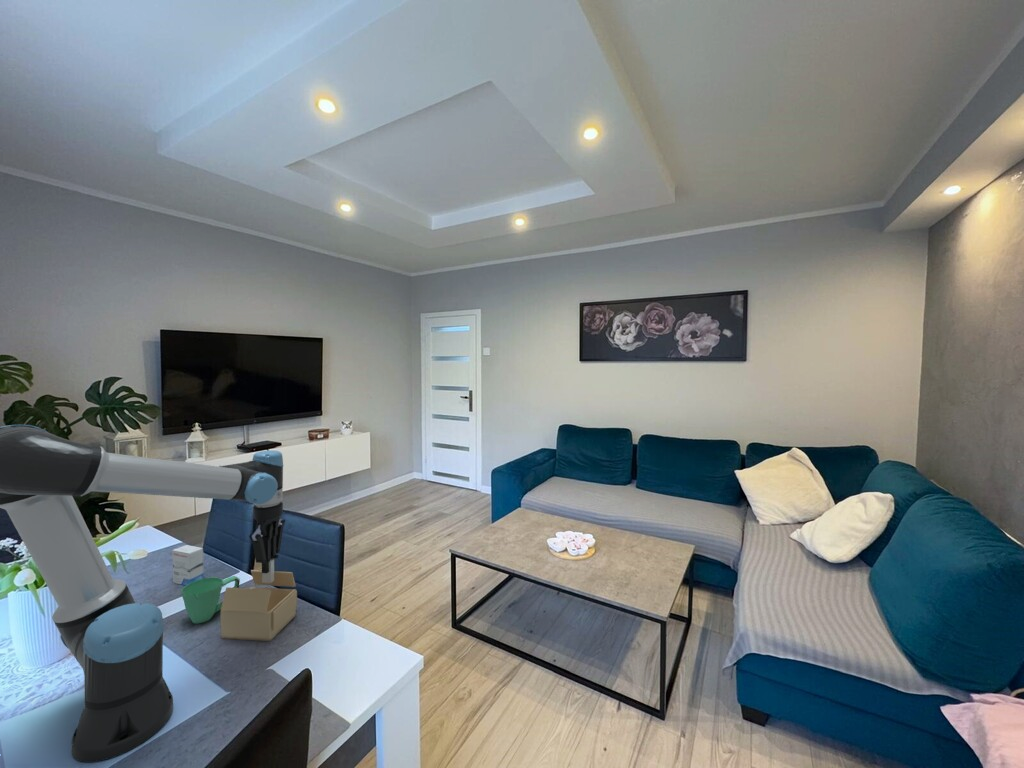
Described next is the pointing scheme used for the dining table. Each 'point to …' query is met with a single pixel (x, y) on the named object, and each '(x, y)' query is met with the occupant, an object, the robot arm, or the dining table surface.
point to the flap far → (279, 578)
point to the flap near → (246, 599)
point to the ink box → (187, 564)
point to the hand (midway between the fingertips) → (268, 581)
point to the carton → (260, 618)
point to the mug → (204, 597)
